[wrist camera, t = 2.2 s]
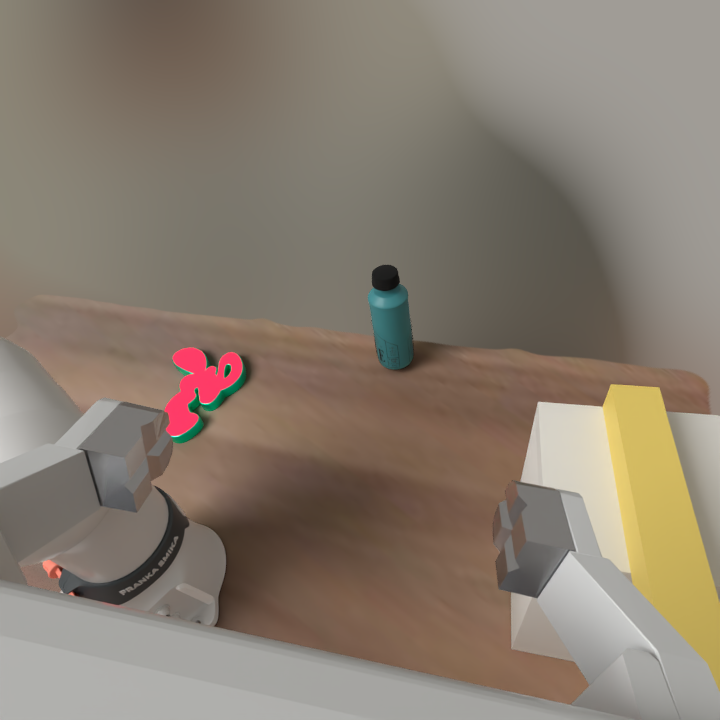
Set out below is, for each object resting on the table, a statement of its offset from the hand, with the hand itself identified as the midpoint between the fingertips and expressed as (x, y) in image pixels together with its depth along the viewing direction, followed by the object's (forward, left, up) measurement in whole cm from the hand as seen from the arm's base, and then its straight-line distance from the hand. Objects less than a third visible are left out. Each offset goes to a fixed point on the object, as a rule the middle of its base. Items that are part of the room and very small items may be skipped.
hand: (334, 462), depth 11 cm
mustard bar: (+18, -8, -25) cm, 32 cm away
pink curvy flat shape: (+11, +59, -52) cm, 79 cm away
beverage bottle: (+38, +34, -51) cm, 72 cm away
